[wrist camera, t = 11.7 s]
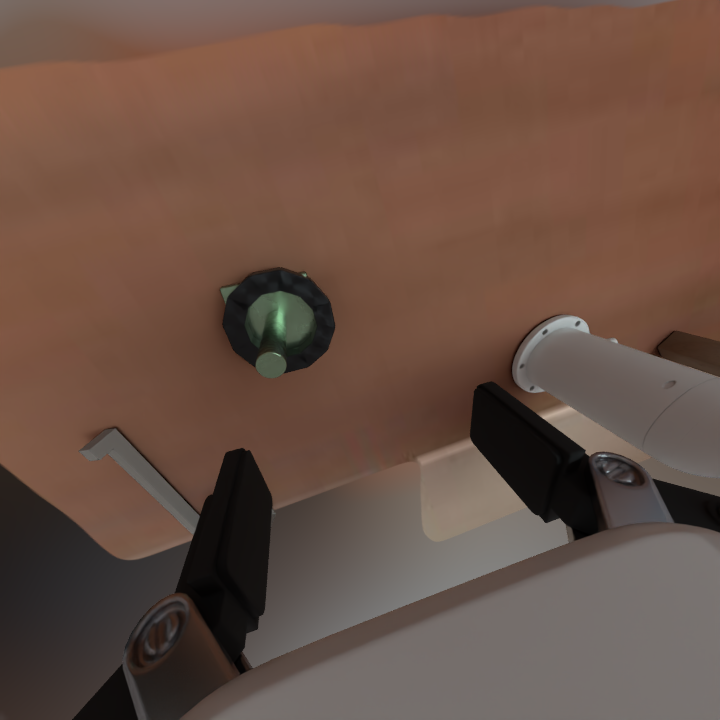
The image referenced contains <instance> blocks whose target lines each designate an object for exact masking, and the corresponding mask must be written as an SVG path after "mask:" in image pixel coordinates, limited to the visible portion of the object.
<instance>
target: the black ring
mask: <svg viewBox="0 0 720 720" xmlns="http://www.w3.org/2000/svg"><path fill="white" fill-rule="evenodd" d="M279 291H282V292H286V293H289V294H292V295H296V296H299V297H301V299H302V300H303V301H304V302H305V303H306V304H307V305H308V306H309V307H310V308H311V309H312V310H313V314H314V318H315V324H314V327H313V331H312V334H311V337H309V338H308V339H307V340H306V341H305V342H304V343H303V344H302V345H301V346H299V347H296V348H292V349H288V350H287V367H286V370H285V372H284V373H288V372H291V371H295V370H299V369H303V368H307V367H308V366H310V365H312V364H313V363H314V362H315V361H316V360H317V359H318V358H319V357H321V356H322V355H323V354H324V353H325V352H326V351H327V350H328V348H329V345H330V342H331V339H332V336H333V333H334V330H335V322H334V317H333V313H332V308H331V304H330V301H329V299H328V297H327V296H326V295H325V294H324V293H323V292H322V290H321V289H320V288H319V287H318V286H317V285H316V284H315V283H314V282H313V281H312V280H311V278H310V277H308V276H306V275H303V274H300V273H297V272H294V271H291V270H288V269H285V268H282V267H281V268H280V267H278V268H273V269H268V270H263V271H258V272H253V273H252V274H250V275H249V276H248V277H246V278H245V279H244V280H243V281H242V282H241V283H240V284H239V285H238V286H237V287H236V288H235V289H234V290H233V291H232V292H231V293H230V294H229V296H228V297H227V301H226V307H225V313H224V318H223V324H222V325H223V328H224V330H225V332H226V334H227V337H228V339H229V341H230V343H231V346H232V348H233V350H234V351H235V353H237V354H238V355H239V356H241V357H242V358H244V359H245V360H246V361H248V362H249V363H250V364H252V365H253V366H254V367H256V366H255V364H256V359H257V355H258V350H259V346H260V341H259V340H257V339H256V338H255V337H254V336H253V334H252V332H251V329H250V327H249V324H248V321H247V318H248V313H249V308H250V306H251V305H252V304H253V303H254V302H255V301H256V300H257V299H258V298H259V297H260V296H261V295H265V294H269V293H274V292H279Z"/></svg>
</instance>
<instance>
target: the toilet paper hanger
mask: <svg viewBox="0 0 720 720" xmlns="http://www.w3.org/2000/svg"><path fill="white" fill-rule="evenodd" d="M79 452H80V453H81V454H82V455H83V456H84V457H86V458H87V459H88V460H89V461H94V460H101V459H102V458H103V457H104V456H105V455H106V454H109V455H110V456H111V457H112V458H113V459H114V460H115V461H116V462H117V463H118V464H119V465H120V466H121V467H122V468H123V469H124V470H125V471H126V472H127V473H129V474H130V475H131V476H132V477H133V478H134V479H135V480H136V481H137V482H138V483H139V484H140V485H141V486H142V487H143V488H144V489H145V490H146V491H148V492H149V493H150V494H151V495H152V496H153V497H154V498H155V499H156V500H157V501H158V502H159V503H160V504H161V505H162V506H163V507H164V508H165V509H166V510H168V511H169V512H170V513H171V514H172V515H173V516H174V517H175V518H176V519H177V520H178V521H179V522H180V523H181V524H182V525H183V526H184V527H185V528H186V529H188V530H189V531H190V532H191V533H192V534H193V535H194V533H195V530H196V527H197V524H198V520H199V517H200V516H199V515H198V514H197V513H196V512H195V511H194V510H193V509H192V508H191V507H190V506H189V504H188V503H187V502H186V501H185V500H184V499H183V498H182V497H181V496H180V495H179V494H178V493H177V492H176V491H175V490H174V489H173V488H172V487H171V486H170V485H169V484H168V483H167V482H166V481H165V480H164V478H163V477H162V476H161V475H160V474H159V473H158V472H157V471H156V470H155V469H154V468H153V467H152V466H151V465H150V464H149V463H148V462H147V461H146V460H145V459H144V458H143V457H142V456H141V455H140V454H139V452H138V451H137V450H136V449H135V448H134V447H133V446H132V445H131V444H130V443H129V442H128V441H127V440H126V439H125V438H124V437H123V436H122V435H121V434H120V433H119V432H118V431H117V430H116V429H106V430H104V431H103V432H102V433H100V434H99V435H98V436H97V437H95V438H94V439H93V440H92V441H90V442H89V443H88V444H87V445H85V446H84V447H83V448H82V449H80V450H79ZM275 515H276V513H275V512H274V510H273V509H272V517H271V526H272V523H273V520H274V518H275Z"/></svg>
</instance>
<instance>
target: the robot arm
mask: <svg viewBox="0 0 720 720" xmlns="http://www.w3.org/2000/svg"><path fill="white" fill-rule="evenodd" d="M512 374H513V379H514V381H515V383H516V384H517V385H518V386H519V387H520V388H522V389H523V390H525V391H527V392H531V393H538V392H543V391H546V392H548V393H549V394H551V395H552V396H554V397H556V398H557V399H559V400H561V401H562V402H564V403H565V404H567V405H569V406H570V407H572V408H573V409H575V410H577V411H578V412H580V413H581V414H583V415H585V416H586V417H588V418H590V419H591V420H593V421H594V422H596V423H598V424H599V425H601V426H602V427H604V428H606V429H607V430H609V431H611V432H612V433H614V434H615V435H617V436H619V437H620V438H622V439H623V440H625V441H627V442H628V443H630V444H632V445H633V446H635V447H636V448H638V449H640V450H641V451H643V452H644V453H646V454H648V455H649V456H651V457H653V458H654V459H656V460H658V461H659V462H661V463H663V464H665V465H667V466H669V467H671V468H673V469H676V470H679V471H682V472H685V473H688V474H692V475H697V476H703V477H712V478H720V378H719V377H716V376H713V375H710V374H707V373H704V372H701V371H698V370H695V369H692V368H689V367H686V366H683V365H680V364H677V363H674V362H671V361H668V360H666V359H663V358H660V357H657V356H654V355H651V354H648V353H645V352H642V351H639V350H636V349H633V348H630V347H627V346H624V345H621V344H618V341H617V340H616V339H615V338H608V339H604V338H601V337H598V336H595V335H592V334H590V332H589V328H588V326H587V324H586V322H585V321H584V320H582V319H581V318H578V317H575V316H571V315H560V316H556V317H553V318H551V319H548V320H546V321H545V322H543V323H542V324H540V325H539V326H538V327H536V328H535V329H534V330H533V331H532V332H531V333H530V334H529V335H528V336H527V337H526V338H525V340H524V341H523V342H522V344H521V345H520V347H519V349H518V351H517V353H516V355H515V358H514V362H513V366H512ZM470 438H471V441H472V442H473V444H474V445H475V446H476V447H477V448H478V450H479V451H480V452H481V453H482V454H483V455H484V457H485V458H486V459H487V460H488V461H489V462H490V464H491V465H492V466H493V467H494V468H495V469H496V471H497V472H498V473H499V474H500V475H501V476H502V478H503V479H504V480H505V481H506V482H507V483H508V485H509V486H510V487H511V488H512V489H513V490H514V492H515V493H516V494H517V495H518V496H519V497H520V499H521V500H522V501H523V502H524V503H525V504H526V506H527V507H528V508H529V509H530V510H531V511H532V512H533V513H534V514H535V515H539V516H540V517H541V518H542V519H543V520H544V522H545V523H548V522H550V521H553V520H556V519H558V518H560V519H561V520H562V521H563V522H564V523H565V524H566V530H567V535H568V541H569V543H568V544H565V545H562V546H560V547H557V548H554V549H552V550H549V551H546V552H544V553H541V554H538V555H536V556H533V557H531V558H528V559H525V560H523V561H520V562H517V563H515V564H512V565H510V566H507V567H505V568H502V569H499V570H496V571H494V572H491V573H489V574H486V575H483V576H481V577H478V578H476V579H473V580H471V581H468V582H465V583H463V584H460V585H458V586H455V587H453V588H450V589H447V590H445V591H442V592H440V593H437V594H434V595H432V596H429V597H427V598H424V599H421V600H419V601H416V602H414V603H411V604H409V605H406V606H403V607H401V608H398V609H396V610H393V611H391V612H388V613H386V614H383V615H381V616H378V617H375V618H373V619H371V620H368V621H365V622H363V623H360V624H358V625H355V626H353V627H350V628H348V629H345V630H343V631H340V632H337V633H335V634H332V635H330V636H327V637H325V638H322V639H320V640H318V641H315V642H313V643H310V644H308V645H306V646H303V647H301V648H298V649H296V650H294V651H291V652H289V653H286V654H284V655H282V656H279V657H277V658H274V659H272V660H270V661H268V662H266V663H264V664H262V665H260V666H258V667H255V668H252V666H251V665H250V663H249V662H248V660H247V658H246V657H245V655H244V654H243V652H242V651H243V649H244V648H245V640H246V633H249V632H252V631H254V630H257V629H258V620H259V616H261V615H263V613H264V610H265V600H266V587H267V573H268V559H269V544H270V530H271V517H272V496H271V493H270V491H269V489H268V487H267V485H266V483H265V481H264V478H263V476H262V474H261V472H260V470H259V468H258V466H257V464H256V462H255V460H254V457H253V455H252V453H251V451H250V450H248V451H245V449H244V448H240V449H236V450H232V451H229V452H226V454H225V456H224V459H223V463H222V466H221V469H220V473H219V476H218V479H217V482H216V486H215V489H214V492H213V494H212V495H209V496H208V497H207V498H206V500H205V502H204V505H203V508H202V511H201V514H200V517H199V520H198V524H197V527H196V530H195V533H194V536H193V539H192V542H191V545H190V548H189V552H188V555H187V557H186V561H185V564H184V567H183V570H182V573H181V576H180V579H179V582H178V585H177V588H176V592H175V594H171V595H169V596H167V597H165V598H164V599H161V600H160V601H159V602H157V603H156V604H155V605H154V606H152V607H151V608H150V609H149V610H148V611H147V612H146V614H145V615H144V616H143V617H142V618H141V619H140V621H139V622H138V624H137V625H136V627H135V628H134V630H133V631H132V633H131V635H130V637H129V639H128V642H127V644H126V646H125V650H124V654H123V660H122V661H123V664H122V665H121V666H120V667H119V668H118V669H117V670H116V672H115V673H114V674H113V675H112V676H111V677H110V678H109V679H108V680H107V682H106V683H105V684H104V685H103V686H102V687H101V688H100V689H99V690H98V692H97V693H96V694H95V695H94V696H93V697H92V698H91V699H90V701H89V702H88V703H87V704H86V705H85V706H84V707H83V708H82V709H81V711H80V712H79V713H78V714H77V715H76V716H75V717H74V719H72V720H720V497H718V496H715V495H711V494H708V493H703V492H700V491H696V490H693V489H689V488H685V487H682V486H678V485H674V484H670V483H667V482H663V481H659V480H656V479H652V478H651V476H650V475H649V474H648V472H647V471H646V470H645V469H644V468H643V467H641V466H640V465H639V464H637V463H636V462H634V461H633V460H631V459H629V458H626V457H624V456H622V455H618V454H615V453H610V452H596V453H594V454H592V455H591V456H590V457H589V456H588V455H587V454H585V451H586V450H585V449H583V448H582V447H580V446H579V445H578V444H576V443H575V442H574V441H572V440H571V439H570V438H568V437H567V436H566V435H564V434H563V433H562V432H560V431H559V430H558V429H556V428H555V427H554V426H552V425H551V424H550V423H548V422H547V421H546V420H544V419H543V418H541V417H540V416H539V415H537V414H536V413H535V412H533V411H532V410H531V409H529V408H528V407H527V406H525V405H524V404H523V403H521V402H520V401H519V400H517V399H516V398H515V397H513V396H512V395H511V394H509V393H508V392H506V391H505V390H504V389H502V388H501V387H500V386H498V385H497V384H496V383H494V382H487V383H483V384H480V385H478V386H477V389H475V390H474V397H473V407H472V418H471V429H470Z"/></svg>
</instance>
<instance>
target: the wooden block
mask: <svg viewBox="0 0 720 720" xmlns="http://www.w3.org/2000/svg"><path fill="white" fill-rule="evenodd" d="M658 350H659V352H660V354H661V357H663V358H665V359H668V360H671V361H674V362H677V363H680V364H683V365H686V366H689V367H692V368H695V369H698V370H701V371H703V372H706V373H709V374H712V375H715V376H718V377H720V342H719V341H715V340H711V339H707V338H703V337H700V336H696V335H692V334H688V333H684V332H680V331H675V332H674V333H673V334H671V335H670V336H669V337H668V338H667V339H666V340H665V341H664V342H663V343H661V344H660V345H659V346H658Z"/></svg>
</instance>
